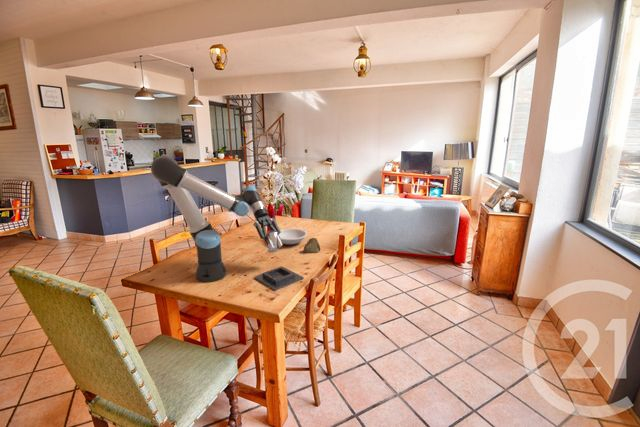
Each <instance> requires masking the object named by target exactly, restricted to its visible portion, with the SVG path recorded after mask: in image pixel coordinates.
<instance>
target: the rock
mask: <svg viewBox="0 0 640 427" xmlns="http://www.w3.org/2000/svg"><path fill="white" fill-rule="evenodd" d="M302 250H303V252H304V253H319V251H320V250H321V246H320V243H319V242H318V240H317V238H316V237H311V238H309V239H308V240H307V242H306V243H305V245H304V247H303V249H302ZM320 252H321V251H320Z"/></svg>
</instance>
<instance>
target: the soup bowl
mask: <svg viewBox="0 0 640 427" xmlns="http://www.w3.org/2000/svg"><path fill="white" fill-rule="evenodd" d="M280 231H281V233H280V234H279V236H280V238H281V240H280V241H281V243H282V245H296V244H299V243H301V242H302V241H303V240H304V239H305V238H306V237H308V231H306V230H304V229H301V228H281V229H280Z"/></svg>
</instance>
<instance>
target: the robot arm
mask: <svg viewBox="0 0 640 427" xmlns="http://www.w3.org/2000/svg"><path fill="white" fill-rule="evenodd" d="M150 172H151V175H152V176H153V177H154V178H155V179H156V180H157V181H158V182H159V184H160V186H161V187H162V188H164V189H166V190H167V191H168V193H169V194H170V196H171V198H172V200H173V202H174V203H175V205H176V206H177V209H178V210H179V211H180V214H181V215H182V216H183V218H184V220H185V222H186V223H187V225H188V226H189V231H188V233H189V234H190V236H191V238H192V240H193V241H194V243H195V246H196V253H197V266H196V270H195V279H196V280H197V281H198V282H202V283H212V282H216V281H219V280H222V279H223V278H225V277H226V276H227V268H226V266H225V264H224V262H223V258H222V257H223V256H222V246H221V245H222V244H221V235H220V233H219V232H218V231H217V230H215V229H214V227H213V226H212V224H211V222H210V221H209V220H206V219H205V217H204V215H203V214H202V212H201V210H200V208H199V206H198V205H197V203H196V202H195V200H194V198H193V196H192V194H191V193H193V194H195V195H196V196H198V197H201V198H203V199H204V200H207V201H210V202H211V203H213V204H216V205H218V206H220V207H222V208H224V209H226V210H227V212H229V213H232V212H233V213H234V214H235V215H236V216H239V217H244V216H247V215H248V214H249V211H250V210H251V212H252V214H253V216H254V218H255V220H256V221H254V223H253V226H254V228H255V229H256V232H257V234H258V236H259V237H260V240H263V241H265V243H266V245H267V246H268V245H269V247H270V249H271V250H272V249H273V248H274V246H273V244H272V242H271V240H270V238H269V237H268V231H267V228H268V229H269V231H277V247H279V248H281V247H283V243H281V241H280V240H281V238H280V236H279V234H280V233H281V231H280V230H281V229H280V227H279V225H278V223H277V221H276V218H275V217H272V218H271V216H269V212H268V211H267V208H266V206H265V204H264V202H263V200H262V198H261V195H260V194H259V192H258V190H257V188H256V186H254V185H248V186H246V187H245V188H244V189H243V190H242V191H243V192H242V193H241V194H237V195H233V194H230V193H228V192H226V191H224V190H223V189H220V188H218V187H217V186H215V185H213V184H210V183H208V182H206V181H205V180H202V179H201V178H199V177H197V176H194V175H193V174H191V173H189V172H188V170H187V169H186V168H184V167H182V166H181V165H179V164H178V162H177V160H176V159H174V158H173V157H172V156H170V155H160V156H157V157H155V158H154V159H153V161H152V164H151V166H150ZM266 227H267V228H266Z"/></svg>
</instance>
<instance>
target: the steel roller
mask: <svg viewBox="0 0 640 427" xmlns="http://www.w3.org/2000/svg"><path fill="white" fill-rule="evenodd" d="M267 236H268V237H269V238H270V240H271V242H272V244H273V246H274V248H273V249H272V250H271V249H270V247H269V245H268V244H267V251H268V253H277V252H278V244H277V231H271V230H268V231H267Z"/></svg>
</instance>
